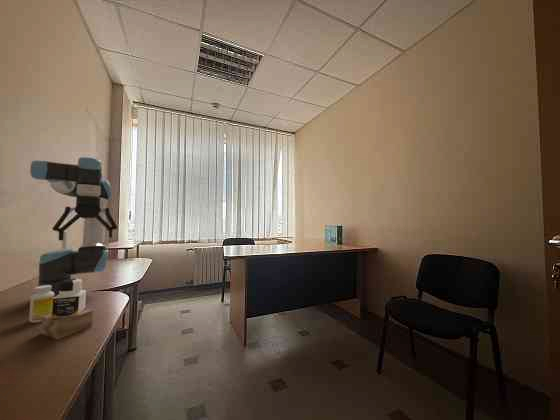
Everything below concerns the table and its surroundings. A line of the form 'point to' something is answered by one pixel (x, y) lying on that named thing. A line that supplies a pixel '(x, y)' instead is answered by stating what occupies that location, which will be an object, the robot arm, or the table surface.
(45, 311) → the supplement bottle
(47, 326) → the wooden block
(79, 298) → the medicine bottle
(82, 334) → the table surface
